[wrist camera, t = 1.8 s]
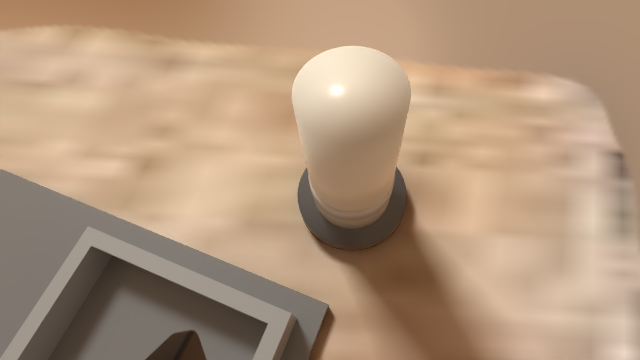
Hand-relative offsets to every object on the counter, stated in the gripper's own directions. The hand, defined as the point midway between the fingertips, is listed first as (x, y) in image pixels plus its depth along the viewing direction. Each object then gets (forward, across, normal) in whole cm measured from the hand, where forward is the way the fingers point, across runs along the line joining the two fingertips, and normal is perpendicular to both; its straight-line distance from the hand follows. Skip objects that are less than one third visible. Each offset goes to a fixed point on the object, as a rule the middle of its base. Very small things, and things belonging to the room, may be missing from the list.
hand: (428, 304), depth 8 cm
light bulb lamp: (+15, 0, +4) cm, 16 cm away
